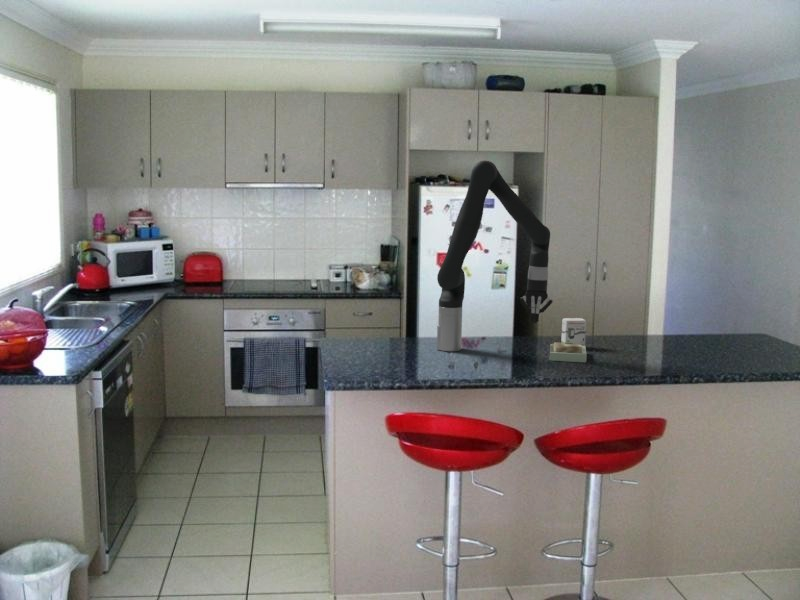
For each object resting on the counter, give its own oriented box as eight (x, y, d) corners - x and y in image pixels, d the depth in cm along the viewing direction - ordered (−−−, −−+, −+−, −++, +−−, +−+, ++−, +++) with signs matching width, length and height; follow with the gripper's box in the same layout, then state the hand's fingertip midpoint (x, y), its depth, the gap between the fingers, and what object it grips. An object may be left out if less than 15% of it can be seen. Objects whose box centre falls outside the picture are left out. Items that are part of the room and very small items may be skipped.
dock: (549, 360, 319) (549, 352, 319) (549, 351, 335) (550, 344, 334) (586, 362, 317) (586, 354, 316) (585, 353, 332) (585, 346, 332)
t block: (555, 359, 322) (556, 347, 321) (553, 353, 332) (553, 342, 331) (582, 360, 321) (583, 348, 320) (579, 354, 331) (580, 342, 330)
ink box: (564, 349, 340) (566, 320, 338) (560, 346, 345) (561, 318, 343) (585, 348, 341) (586, 320, 339) (580, 346, 346) (582, 317, 344)
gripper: (519, 278, 321) (516, 323, 324) (555, 280, 319) (551, 325, 322) (520, 275, 328) (517, 319, 331) (555, 277, 326) (552, 322, 329)
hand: (534, 322), depth 326 cm, fingers closed
